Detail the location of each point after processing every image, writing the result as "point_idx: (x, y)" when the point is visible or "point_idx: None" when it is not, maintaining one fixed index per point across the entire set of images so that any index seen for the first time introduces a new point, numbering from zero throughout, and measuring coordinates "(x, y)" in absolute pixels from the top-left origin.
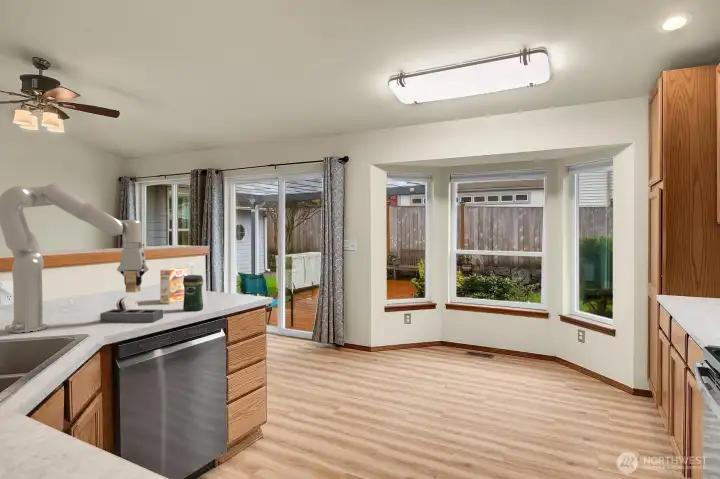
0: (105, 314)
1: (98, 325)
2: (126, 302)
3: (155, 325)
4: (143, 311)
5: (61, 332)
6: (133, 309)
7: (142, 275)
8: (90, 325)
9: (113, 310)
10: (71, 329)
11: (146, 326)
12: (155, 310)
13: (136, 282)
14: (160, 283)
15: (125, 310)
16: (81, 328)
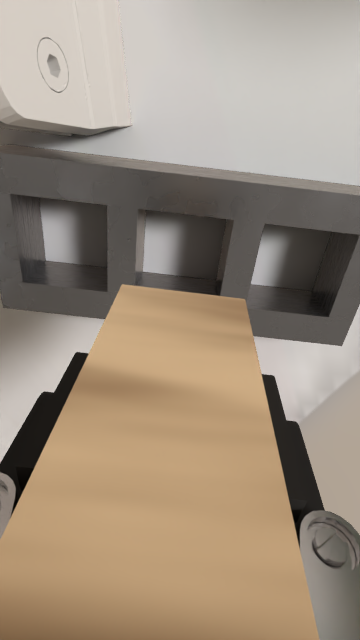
0: (39, 308)
1: (70, 352)
2: (15, 42)
3: (343, 377)
4: (256, 254)
5: (8, 439)
6: (156, 180)
7: (354, 534)
8: (32, 349)
9: (11, 195)
10: (7, 405)
11: (304, 390)
12: (343, 232)
13: None
14: None
15: (112, 220)
16: (35, 394)
